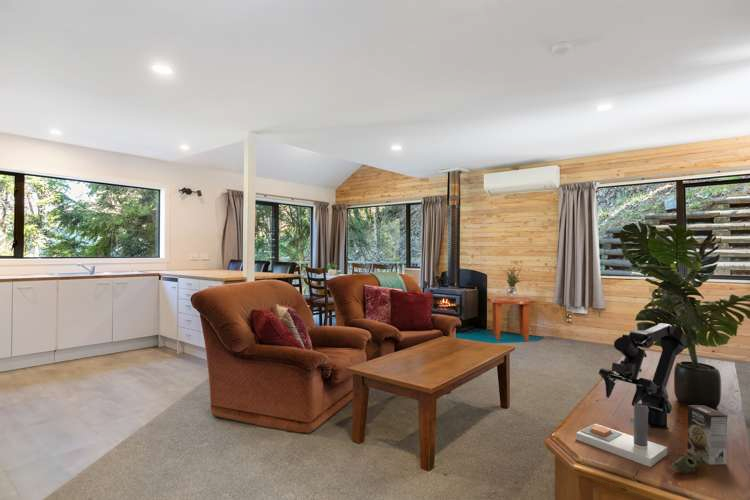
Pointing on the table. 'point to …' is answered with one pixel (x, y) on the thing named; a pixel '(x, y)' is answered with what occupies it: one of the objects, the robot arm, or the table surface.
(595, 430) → the button
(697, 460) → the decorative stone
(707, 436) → the coffee box
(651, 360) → the table surface
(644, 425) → the grey cylinder
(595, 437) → the panel
